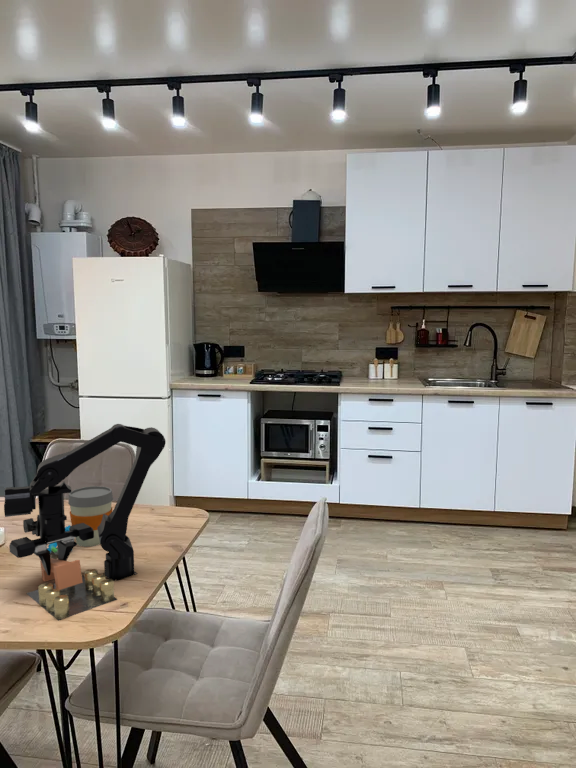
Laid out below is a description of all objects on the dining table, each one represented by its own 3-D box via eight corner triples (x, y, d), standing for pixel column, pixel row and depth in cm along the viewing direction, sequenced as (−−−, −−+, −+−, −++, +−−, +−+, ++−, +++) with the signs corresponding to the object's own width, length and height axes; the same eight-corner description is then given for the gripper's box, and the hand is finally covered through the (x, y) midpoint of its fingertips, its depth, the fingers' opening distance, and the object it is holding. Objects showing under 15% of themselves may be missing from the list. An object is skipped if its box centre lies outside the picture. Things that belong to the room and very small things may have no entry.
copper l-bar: (59, 577, 150) (56, 556, 150) (82, 582, 140) (79, 560, 140) (36, 584, 146) (33, 562, 146) (58, 590, 136) (55, 567, 136)
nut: (69, 585, 144) (69, 576, 144) (76, 591, 140) (76, 582, 140) (52, 589, 141) (52, 580, 141) (59, 596, 138) (59, 587, 138)
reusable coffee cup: (78, 552, 166) (76, 500, 164) (63, 539, 175) (61, 491, 174) (121, 542, 174) (119, 492, 172) (104, 530, 183) (102, 483, 182)
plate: (82, 577, 149) (82, 560, 149) (117, 601, 136) (117, 582, 136) (26, 595, 140) (25, 577, 139) (58, 623, 127) (57, 602, 126)
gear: (48, 541, 170) (71, 517, 169) (64, 553, 172) (87, 530, 171) (36, 561, 159) (61, 536, 158) (53, 574, 161) (78, 550, 160)
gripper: (74, 496, 155) (76, 553, 157) (-1, 512, 142) (3, 574, 144) (93, 505, 147) (96, 565, 149) (16, 523, 134) (20, 589, 136)
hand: (54, 573), depth 144 cm, fingers closed on copper l-bar, 2 cm apart
